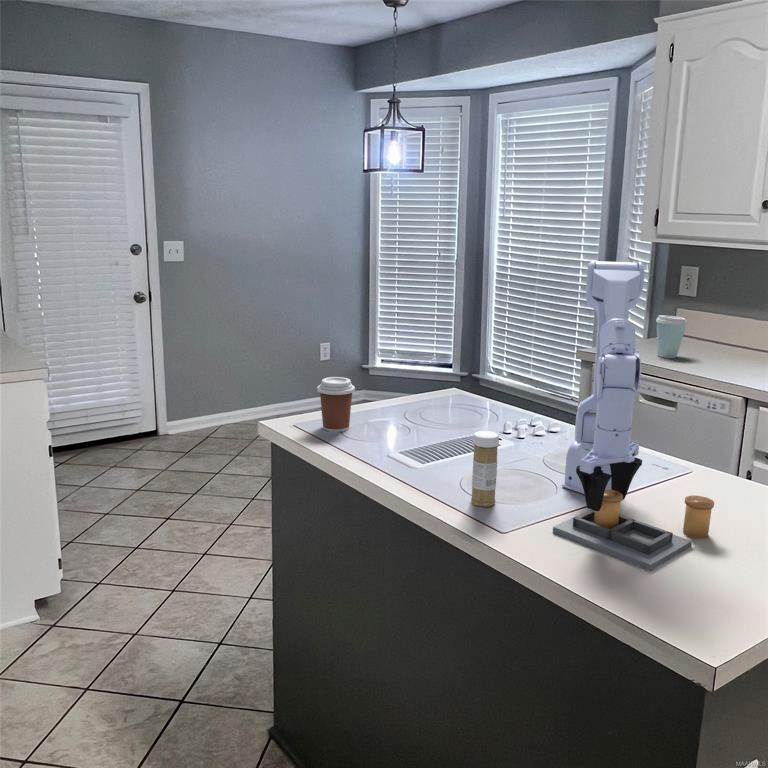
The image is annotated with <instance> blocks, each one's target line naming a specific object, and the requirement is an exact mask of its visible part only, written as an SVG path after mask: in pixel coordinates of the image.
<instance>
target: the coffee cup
mask: <svg viewBox="0 0 768 768" xmlns="http://www.w3.org/2000/svg"><path fill="white" fill-rule="evenodd" d="M316 390H317V392H318V393H319V395H320V396H319V397H320V408H321V409H320V410H321V418H322V419H321V420H322V429H323V430H324V431H325V432H330V433H331V432H332V433H340V432H345V431H346V432H347V431H348V430H349V429H350V424H351V423H350V421H351V420H350V419H351V410H352V399H353V398H352V397H353V393H354V392H355V391H356V387H355V385H353V384H352V381H351V379H350V378H348V377H343V376H329V377H325V378H323V379H321V382H320V384H319V385H318V386H317V387H316Z"/></svg>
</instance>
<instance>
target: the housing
mask: <svg viewBox="0 0 768 768" xmlns="http://www.w3.org/2000/svg"><path fill="white" fill-rule="evenodd" d="M594 513H595V511H594V510H591V509H589V510H587V511H585V512H583V513H580V514H579V515H576V516H573V517H571V518H570V519H567V520H564V521H563V522H560V523H557V524H556V525H553V527H552V533H554V534H556V535H560V536H562V537H565V538H567V539H569V540H570V541H571V540H572V541H574V542H577V543H578V544H582V545H583V546H584V545H585V546H587V547H589V548H590V549H591V548H592V549H595V550H597V551H599V552H601V553H604V554H606V555H610V556H612V557H613V558H616V559H619V560H622V561H625V562H627V563H629V564H632V565H635V566H637V567H640V568H642V569H644V570H647V571H650V572H651V571H652V570H654V569H656V568H657V567H659V566H660V565H664V563H666V562H668V561H669V560H671V559H672V558H674V557H676V556H678V555H679V554H681V553H684V551H686V550H688V549H690V548H691V547H692V543H693V541H692V540H690V539H688V538H685V537H681V536H679V535H676V534H674V533H673V532H672V531H667V530H665V529H663V528H660V527H656V526H653V525H650V524H648V523H645V522H643V521H640V520H636V519H634V518H631V517H629V516H625V515H622V514H620V513H619V522H618V526H616V527H614V528H612V529H608V528H606V527H603V526H600V525H598V524H595V523H594Z"/></svg>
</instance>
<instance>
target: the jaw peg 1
mask: <svg viewBox="0 0 768 768" xmlns="http://www.w3.org/2000/svg"><path fill="white" fill-rule="evenodd" d="M622 501H623V494H622V493H620V492H618V491H616V490H612V489H605V491H604V496H603V501H602V506H601V508H600V511H598V512H597V511H595V513H594V523H595V524H598V525H600V526H603V527H606V528H608V529H612V528H614V527H616V526H618V522H619V514H620V510H621V502H622Z"/></svg>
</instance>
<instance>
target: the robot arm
mask: <svg viewBox="0 0 768 768" xmlns="http://www.w3.org/2000/svg"><path fill="white" fill-rule="evenodd" d="M644 283H645V265H644V264H643V263H642V262H641V261H637V262H630V261H627V262H626V261H602V260H601V261H600V260H599V261H598V260H597V261H595V260H590V262H589V263H587V272H586V285H585V290H586V291H585V300H586V305H587V306H588V307H590V308H592V309H595V313H596V318H597V328H596V329H597V330H596V342H595V343H596V344H595V358H594V359H595V360H594V373H593V376H594V377H593V387H592V388H593V389H592V394H591V395H590V396H588V397H587V398H585V399H584V400H582V401H580V403H579V404H578V406H577V409H576V410H577V411H576V416H575V425H574V441H573V442H572V443H571V444H570V446H569V448H568V450H567V452H566V458H565V459H566V460H565V471H564V472H565V473H564V483H561V487H563V488H565V489H569V490H571V491H575V492H577V493H580V494H583V495H584V497H585V505H586V508H587V509H589V510H594V511H597V512H598V511H600V508H601V506H602V501H603V496H604V491H605V489H612V490H616V491H618V492H620V493H622V494H623V500H625V499H626V497H627V494H628V491H629V488H630V486H631V484H632V481H633V480H634V477H635V475H636V473H637V472H638V471H639V469H640V467H642V465H643V460H642V459H641V458H638V457H636V456H639V451H640V444H639V443H636V442H633V441H632V442H631V437H632V436H631V435H632V425H633V415H634V407H635V397H636V392H637V391H638V390H639V387H640V384H641V377H642V362H641V355H640V353H639V351H638V350H637V340H636V337H637V336H636V329H635V328H636V327H635V326H634V324H633V323H631V321H629V310H630V309H631V310H632V309H634V308H636V306H637V304H638V303H639V300H640V297H641V295H642V293H643V289H644V285H645V284H644ZM634 388H635V390H634ZM588 411H590V412H588ZM591 411H596V412H591ZM623 500H622V501H623Z"/></svg>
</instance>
